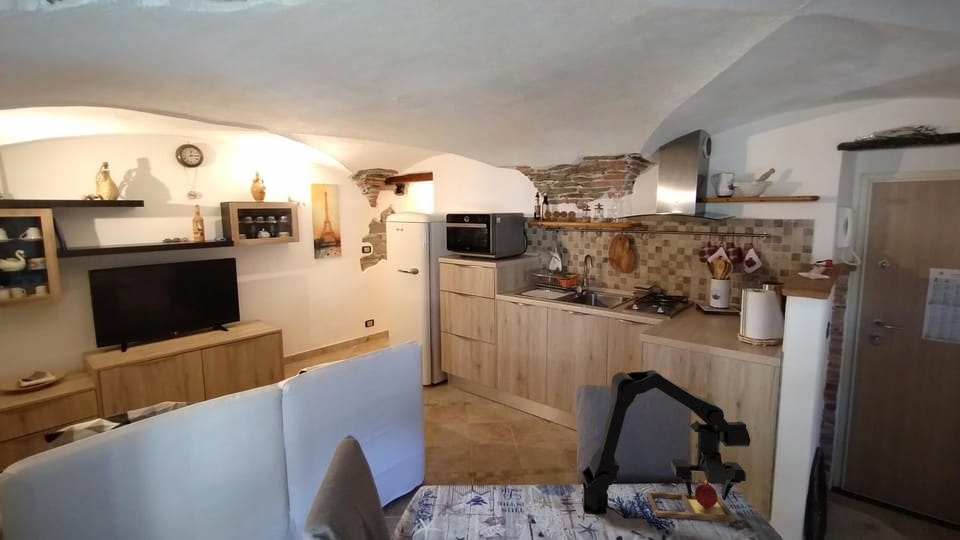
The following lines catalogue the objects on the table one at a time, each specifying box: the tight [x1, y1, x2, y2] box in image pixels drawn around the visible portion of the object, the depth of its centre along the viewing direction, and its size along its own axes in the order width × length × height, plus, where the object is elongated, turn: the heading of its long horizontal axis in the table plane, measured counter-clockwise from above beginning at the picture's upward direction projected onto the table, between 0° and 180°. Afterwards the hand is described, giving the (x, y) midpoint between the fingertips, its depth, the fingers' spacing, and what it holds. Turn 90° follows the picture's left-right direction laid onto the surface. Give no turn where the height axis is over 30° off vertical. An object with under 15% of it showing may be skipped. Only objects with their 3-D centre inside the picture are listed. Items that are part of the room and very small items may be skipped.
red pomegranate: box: [694, 479, 718, 508], centre depth 131 cm, size 6×6×8 cm
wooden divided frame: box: [645, 490, 736, 523], centre depth 132 cm, size 21×11×1 cm, turn 83°
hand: (706, 498), depth 131 cm, fingers open, 9 cm apart
